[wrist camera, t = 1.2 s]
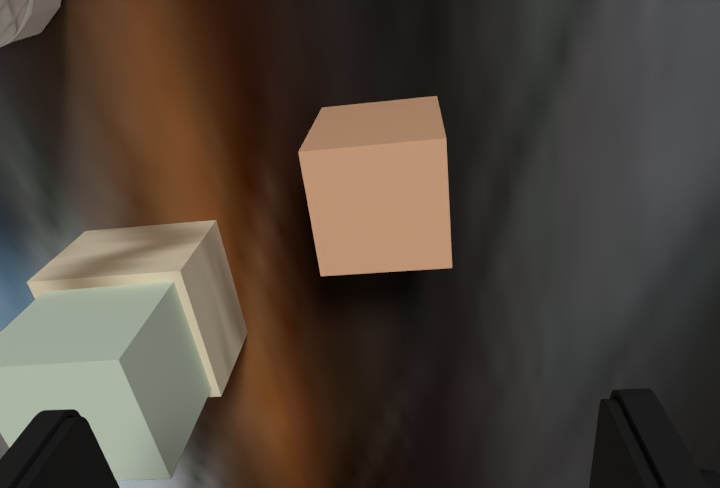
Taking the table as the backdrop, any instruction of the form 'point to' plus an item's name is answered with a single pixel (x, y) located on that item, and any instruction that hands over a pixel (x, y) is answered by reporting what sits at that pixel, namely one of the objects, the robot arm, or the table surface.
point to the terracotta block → (378, 187)
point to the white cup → (24, 18)
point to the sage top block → (108, 372)
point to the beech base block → (162, 280)
